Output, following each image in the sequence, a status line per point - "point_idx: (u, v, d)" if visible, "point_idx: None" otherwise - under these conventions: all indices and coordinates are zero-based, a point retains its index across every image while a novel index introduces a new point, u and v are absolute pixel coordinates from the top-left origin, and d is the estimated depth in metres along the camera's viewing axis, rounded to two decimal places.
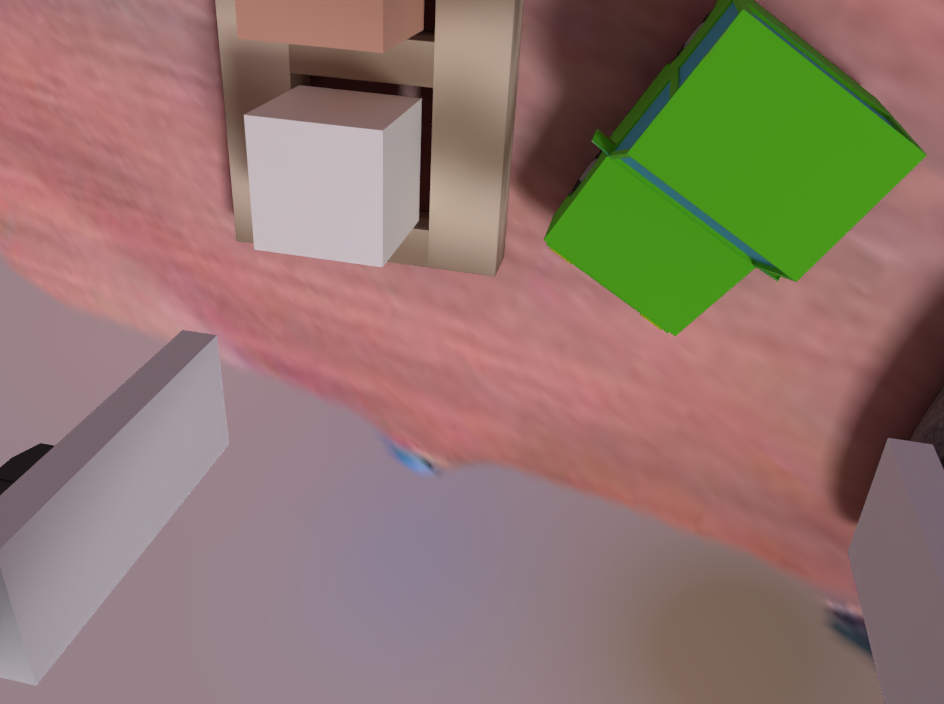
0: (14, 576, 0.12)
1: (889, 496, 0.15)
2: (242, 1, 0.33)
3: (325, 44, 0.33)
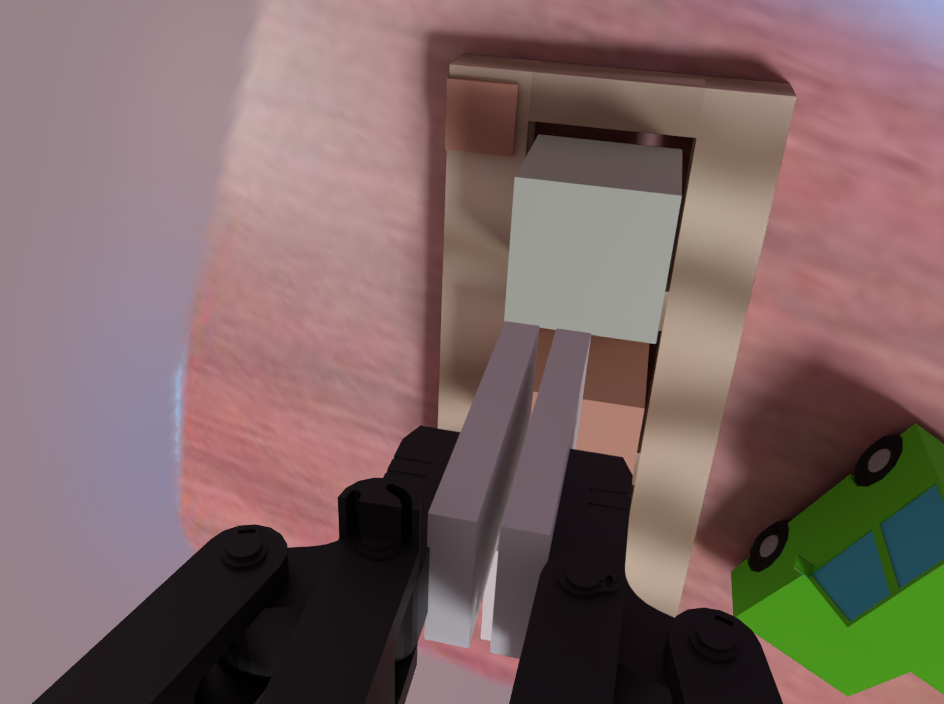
0: (477, 544, 0.13)
1: None
2: None
3: None
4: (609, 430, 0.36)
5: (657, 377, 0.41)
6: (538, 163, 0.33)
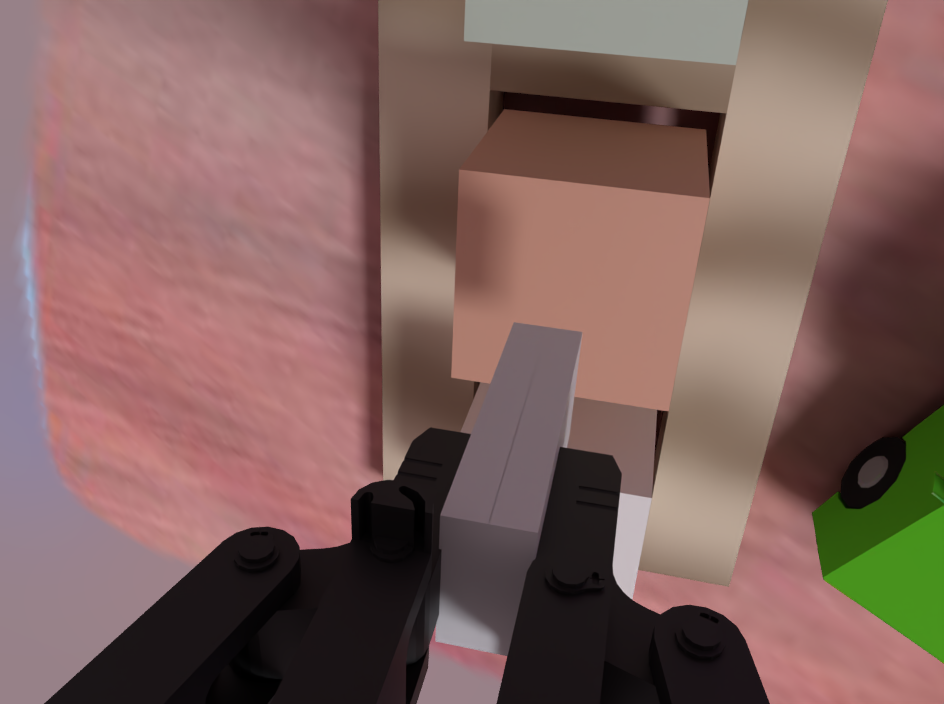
0: None
1: None
2: (463, 335, 0.23)
3: (581, 394, 0.23)
4: (647, 243, 0.21)
5: (715, 195, 0.26)
6: None
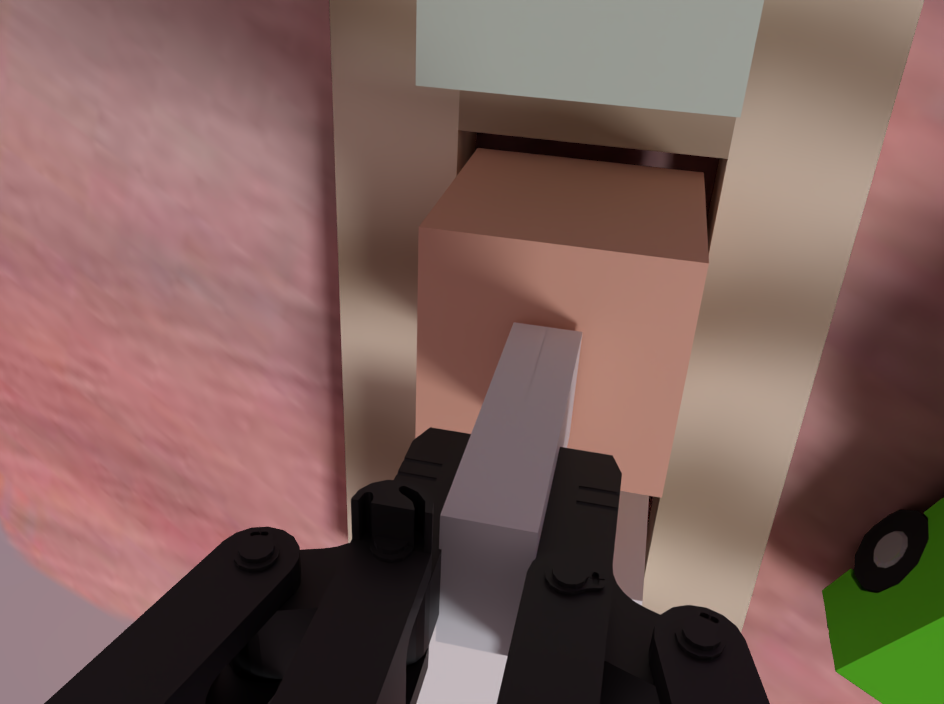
0: None
1: None
2: (428, 409, 0.20)
3: None
4: (636, 313, 0.18)
5: (715, 250, 0.23)
6: None
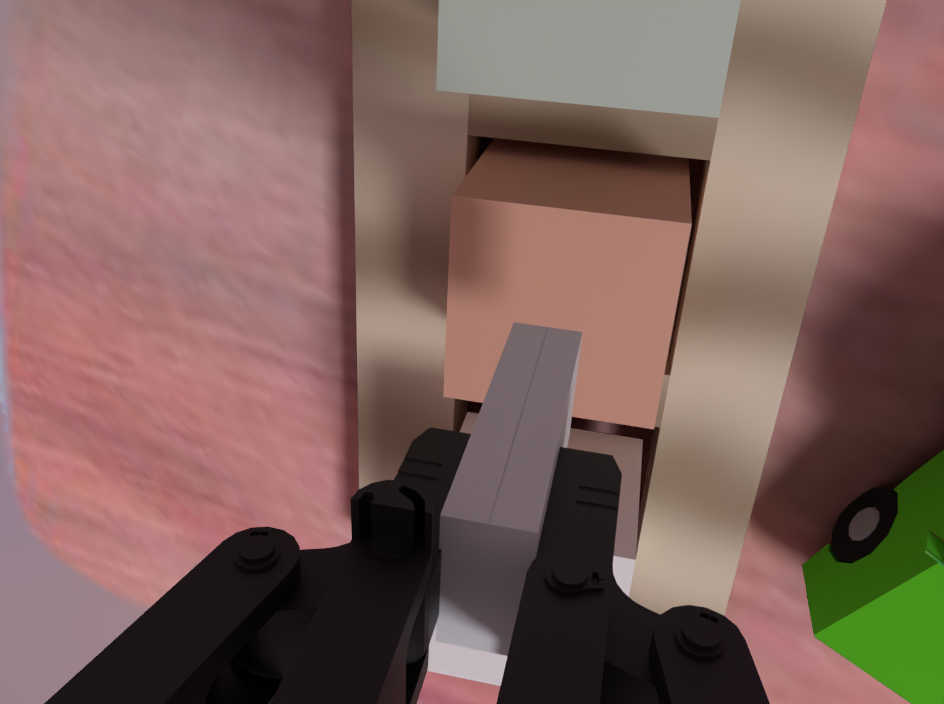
0: None
1: None
2: (455, 355, 0.24)
3: None
4: (631, 267, 0.22)
5: (700, 244, 0.25)
6: None
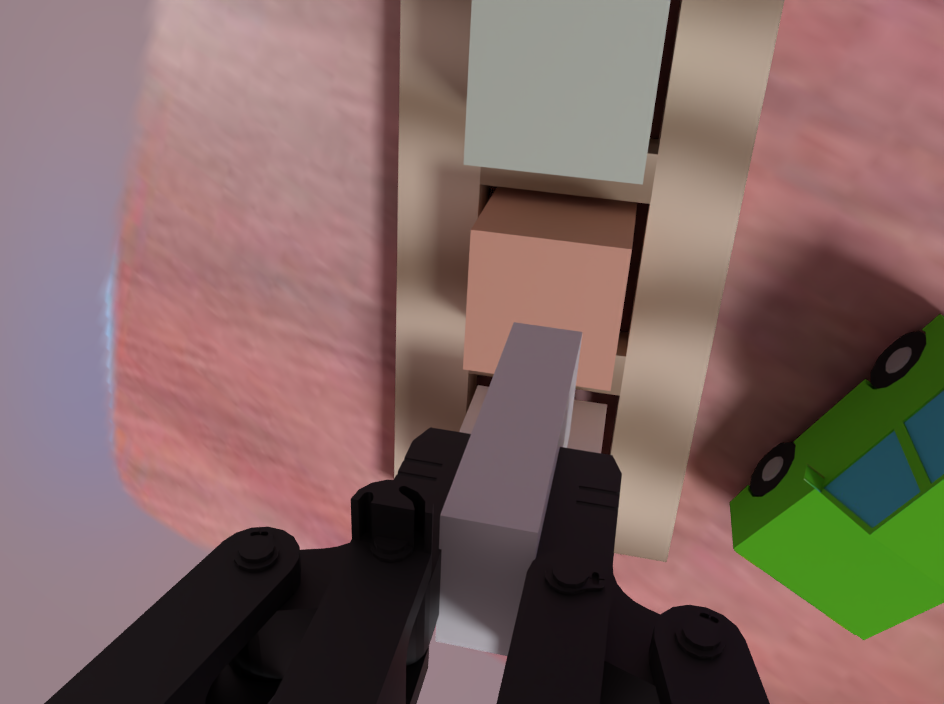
0: None
1: None
2: (472, 339, 0.34)
3: None
4: (593, 278, 0.32)
5: (644, 261, 0.36)
6: None
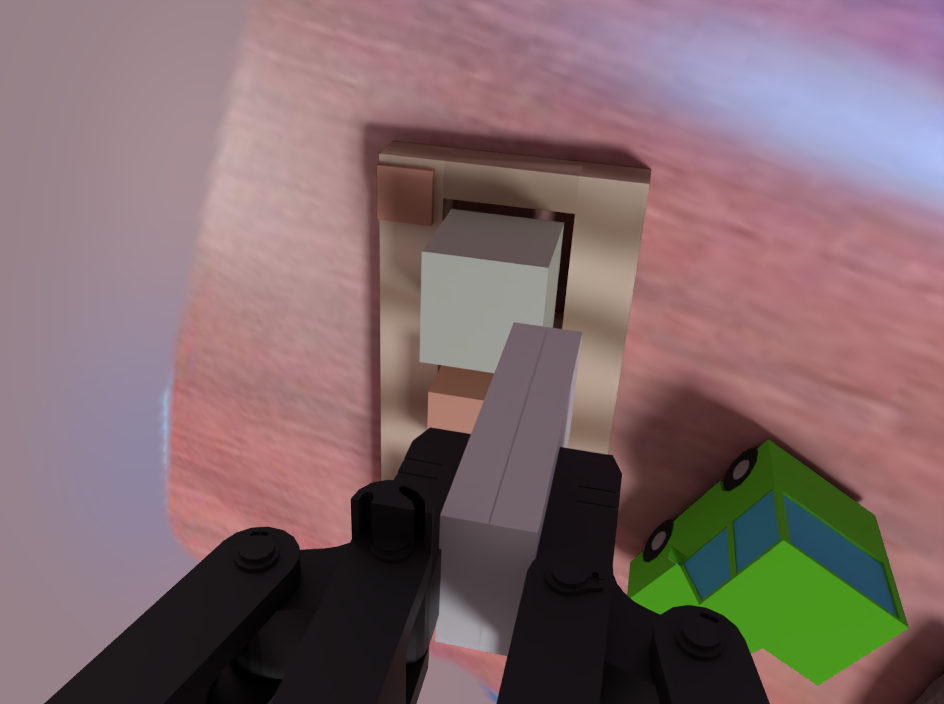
0: None
1: None
2: None
3: None
4: None
5: None
6: (443, 238, 0.42)
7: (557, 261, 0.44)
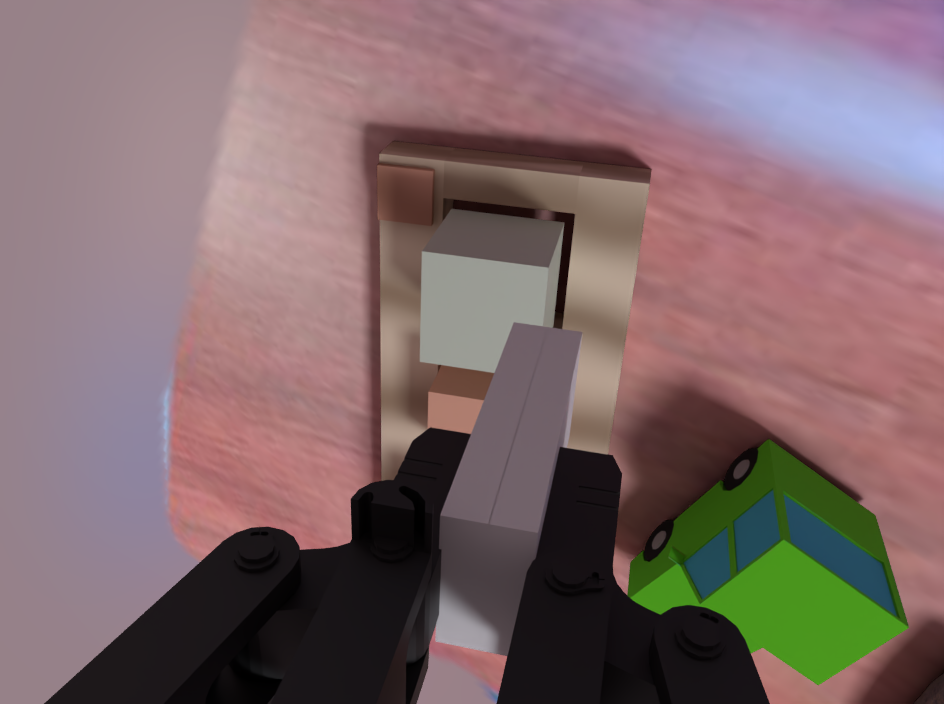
0: None
1: None
2: None
3: None
4: None
5: None
6: (444, 238, 0.42)
7: (557, 261, 0.44)
